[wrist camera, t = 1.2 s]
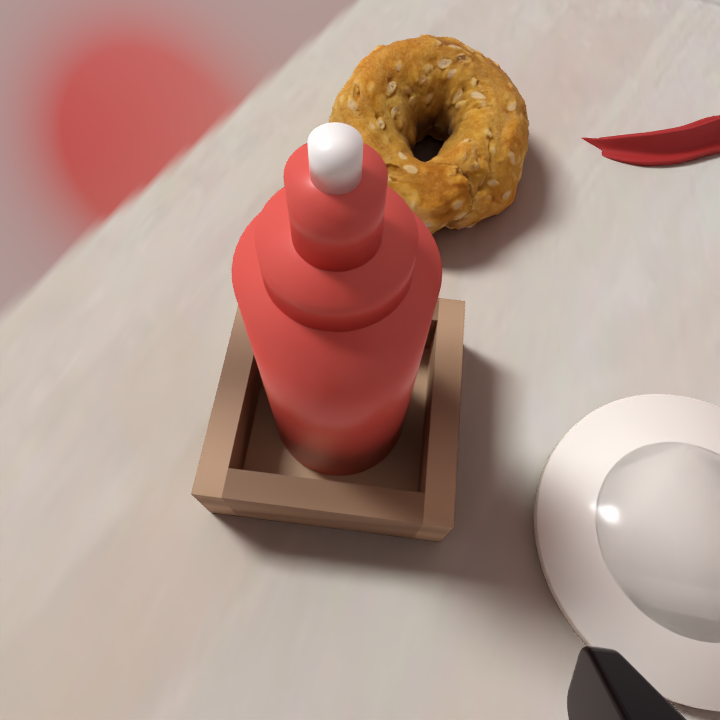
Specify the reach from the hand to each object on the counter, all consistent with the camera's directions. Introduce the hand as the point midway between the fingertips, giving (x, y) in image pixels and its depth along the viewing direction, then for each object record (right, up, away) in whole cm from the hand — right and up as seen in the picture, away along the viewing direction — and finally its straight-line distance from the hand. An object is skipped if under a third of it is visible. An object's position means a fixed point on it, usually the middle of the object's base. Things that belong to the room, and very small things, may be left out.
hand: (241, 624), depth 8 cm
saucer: (+14, -3, +14) cm, 20 cm away
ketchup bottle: (+1, +1, +15) cm, 15 cm away
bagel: (+5, +13, +22) cm, 26 cm away
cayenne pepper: (+19, +15, +23) cm, 33 cm away
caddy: (+1, +1, +16) cm, 16 cm away
